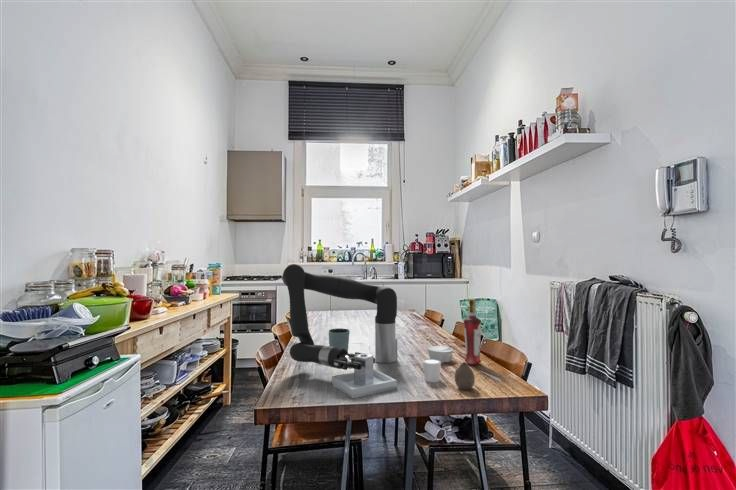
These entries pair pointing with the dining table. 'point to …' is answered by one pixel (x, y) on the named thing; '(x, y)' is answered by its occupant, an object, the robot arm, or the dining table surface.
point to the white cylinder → (432, 370)
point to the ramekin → (440, 353)
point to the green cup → (339, 338)
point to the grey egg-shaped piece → (464, 377)
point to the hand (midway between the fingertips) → (368, 363)
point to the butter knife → (492, 376)
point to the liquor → (472, 336)
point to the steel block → (364, 370)
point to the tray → (379, 385)
